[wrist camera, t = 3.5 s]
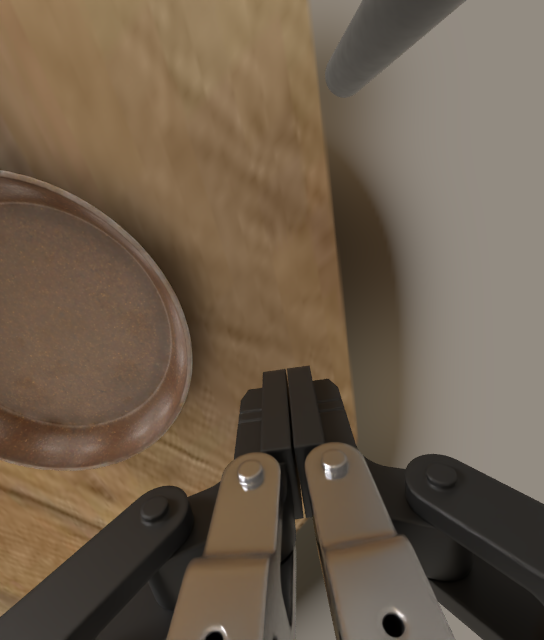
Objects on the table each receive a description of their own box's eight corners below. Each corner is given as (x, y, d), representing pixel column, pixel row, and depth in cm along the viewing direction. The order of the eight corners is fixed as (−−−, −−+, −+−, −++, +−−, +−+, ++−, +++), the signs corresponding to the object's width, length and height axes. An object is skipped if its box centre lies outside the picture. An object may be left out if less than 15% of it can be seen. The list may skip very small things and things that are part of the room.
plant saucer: (101, 479, 27) (81, 516, 24) (-149, 332, 22) (-211, 356, 19) (262, 319, 22) (260, 342, 19) (-18, 82, 17) (-76, 65, 14)
